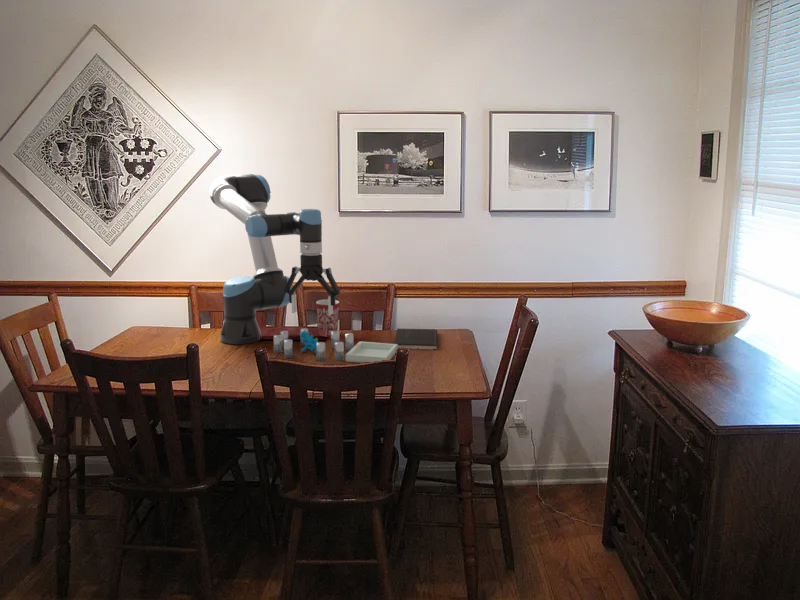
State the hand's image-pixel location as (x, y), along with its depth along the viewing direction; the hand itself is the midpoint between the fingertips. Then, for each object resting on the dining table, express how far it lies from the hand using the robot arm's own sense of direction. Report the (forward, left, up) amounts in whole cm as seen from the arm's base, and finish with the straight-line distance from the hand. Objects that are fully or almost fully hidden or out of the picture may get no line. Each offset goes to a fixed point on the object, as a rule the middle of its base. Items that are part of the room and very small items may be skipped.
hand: (312, 313), depth 256 cm
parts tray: (+22, +1, -14) cm, 26 cm away
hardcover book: (+33, +25, -15) cm, 44 cm away
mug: (-2, +25, -15) cm, 29 cm away
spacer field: (0, 0, -14) cm, 14 cm away
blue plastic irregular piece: (0, 0, -15) cm, 15 cm away
